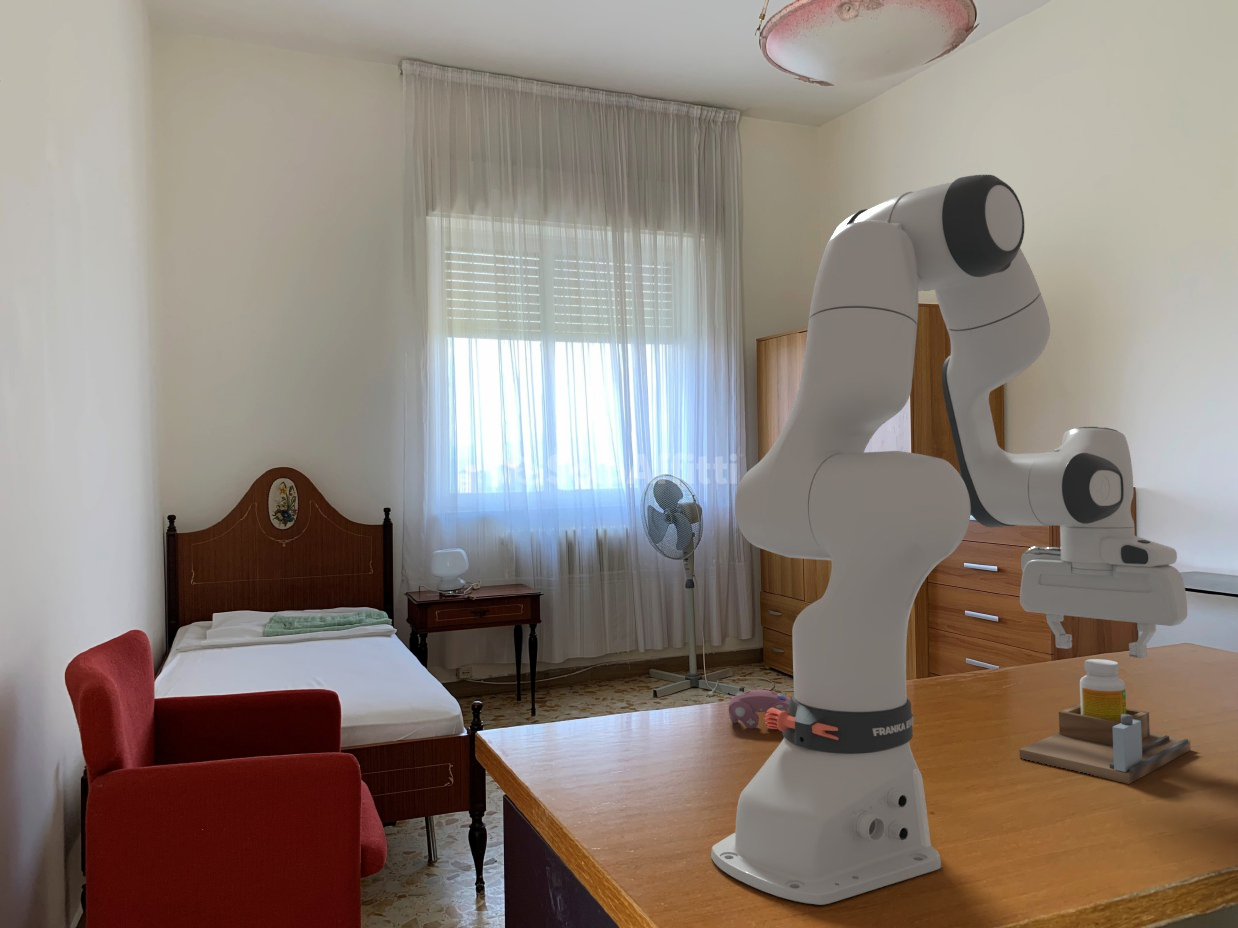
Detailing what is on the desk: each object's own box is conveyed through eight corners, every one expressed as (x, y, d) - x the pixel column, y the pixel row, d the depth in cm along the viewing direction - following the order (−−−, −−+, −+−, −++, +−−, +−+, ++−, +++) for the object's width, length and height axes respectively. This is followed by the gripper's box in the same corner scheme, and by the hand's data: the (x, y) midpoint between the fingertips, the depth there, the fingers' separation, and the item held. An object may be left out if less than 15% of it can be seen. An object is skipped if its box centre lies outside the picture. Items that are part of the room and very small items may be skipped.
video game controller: (728, 738, 131) (725, 700, 128) (730, 716, 135) (727, 680, 132) (796, 740, 128) (795, 702, 125) (796, 718, 132) (795, 681, 130)
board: (1131, 784, 102) (1130, 748, 103) (1019, 758, 113) (1018, 725, 113) (1193, 750, 114) (1191, 717, 114) (1086, 729, 125) (1085, 699, 125)
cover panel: (1124, 771, 103) (1122, 720, 103) (1114, 769, 104) (1112, 718, 104) (1142, 762, 106) (1140, 712, 106) (1131, 760, 107) (1129, 710, 107)
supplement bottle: (1133, 741, 115) (1130, 666, 115) (1088, 739, 116) (1085, 665, 116) (1119, 729, 120) (1116, 657, 120) (1076, 728, 121) (1073, 657, 121)
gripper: (1010, 546, 125) (1012, 644, 124) (1171, 553, 109) (1174, 666, 108) (1032, 544, 129) (1034, 640, 128) (1190, 551, 113) (1193, 660, 112)
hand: (1099, 652), depth 118 cm, fingers open, 8 cm apart
